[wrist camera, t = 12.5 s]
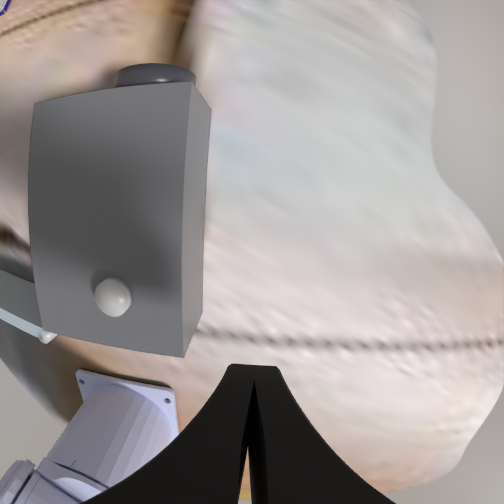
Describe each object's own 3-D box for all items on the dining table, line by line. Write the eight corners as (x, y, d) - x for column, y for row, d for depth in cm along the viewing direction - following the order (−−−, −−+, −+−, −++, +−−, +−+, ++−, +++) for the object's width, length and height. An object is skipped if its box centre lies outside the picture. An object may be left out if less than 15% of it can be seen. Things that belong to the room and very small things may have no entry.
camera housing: (202, 312, 18) (180, 365, 12) (85, 297, 18) (37, 335, 12) (213, 89, 15) (192, 49, 9) (87, 99, 15) (31, 78, 9)
